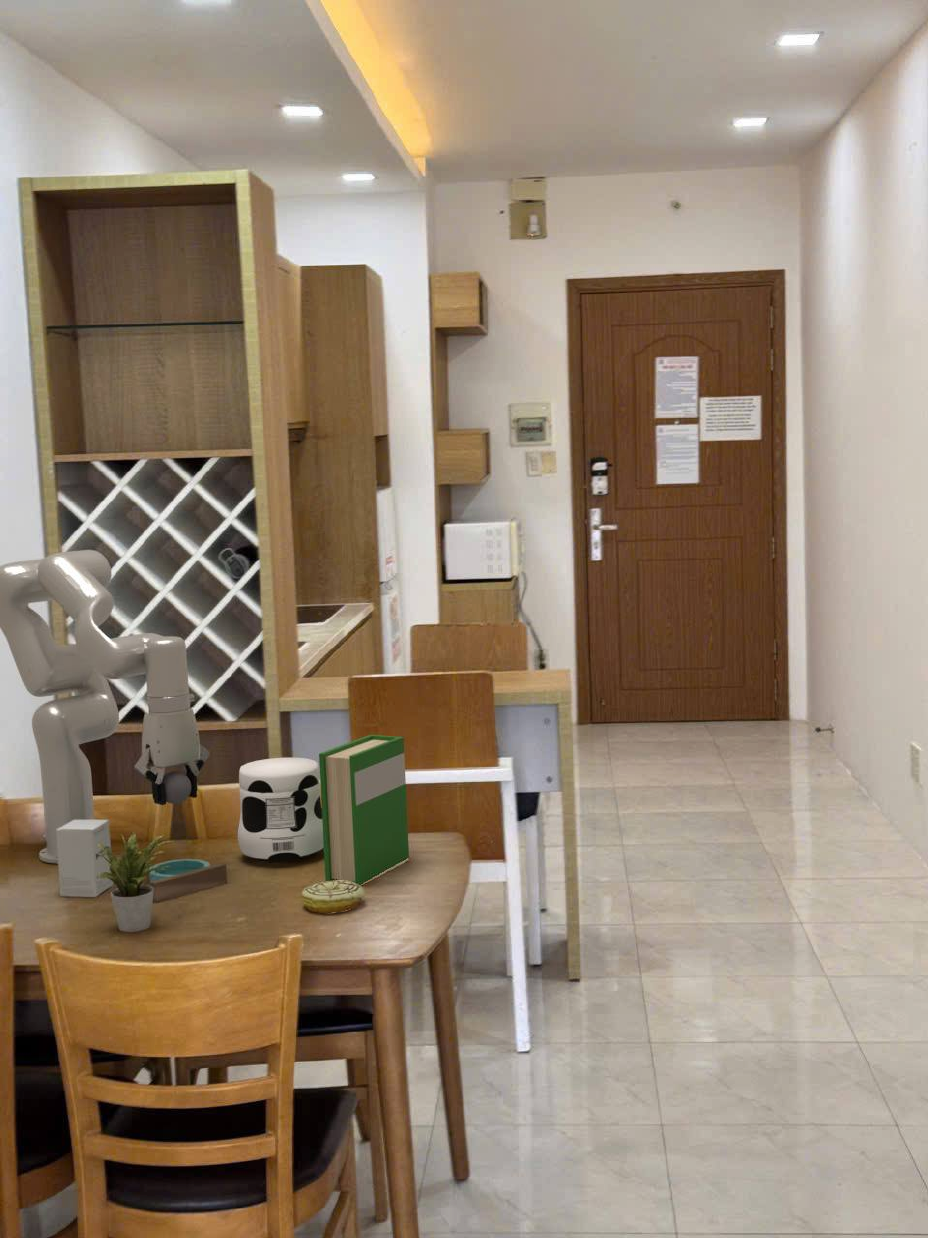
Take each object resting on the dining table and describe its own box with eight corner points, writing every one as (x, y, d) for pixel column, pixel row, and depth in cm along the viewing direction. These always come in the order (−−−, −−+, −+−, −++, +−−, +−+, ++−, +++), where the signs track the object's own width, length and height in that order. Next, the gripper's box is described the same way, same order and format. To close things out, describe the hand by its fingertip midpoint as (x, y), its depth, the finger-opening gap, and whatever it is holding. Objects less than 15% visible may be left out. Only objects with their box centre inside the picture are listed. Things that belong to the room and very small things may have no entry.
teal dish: (138, 881, 270) (137, 869, 270) (189, 867, 278) (188, 855, 277) (170, 892, 262) (169, 880, 262) (221, 878, 270) (220, 866, 270)
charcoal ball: (153, 804, 268) (150, 772, 268) (181, 798, 272) (178, 766, 272) (170, 809, 264) (168, 776, 263) (198, 802, 268) (196, 770, 267)
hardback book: (360, 887, 261) (353, 756, 258) (325, 882, 265) (318, 753, 262) (409, 860, 277) (403, 737, 274) (376, 856, 280) (370, 734, 277)
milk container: (290, 839, 295) (285, 752, 293) (346, 853, 283) (341, 763, 281) (220, 858, 283) (215, 768, 281) (276, 874, 271) (271, 780, 269)
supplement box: (97, 898, 261) (92, 829, 259) (59, 897, 262) (54, 829, 261) (114, 885, 268) (110, 818, 267) (77, 884, 270) (72, 818, 268)
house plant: (195, 930, 241) (189, 834, 239) (115, 948, 234) (108, 849, 232) (164, 909, 253) (158, 817, 251) (86, 926, 245) (79, 831, 244)
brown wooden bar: (151, 901, 258) (150, 882, 257) (222, 881, 268) (221, 863, 267) (156, 903, 257) (155, 883, 256) (227, 883, 267) (226, 864, 266)
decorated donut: (377, 904, 252) (376, 883, 251) (330, 921, 244) (329, 899, 243) (336, 893, 259) (335, 872, 258) (290, 908, 251) (289, 887, 251)
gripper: (197, 695, 275) (203, 788, 277) (116, 709, 263) (124, 806, 265) (219, 699, 269) (226, 794, 271) (138, 713, 257) (145, 812, 260)
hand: (175, 799), depth 268 cm, fingers closed on charcoal ball, 5 cm apart
